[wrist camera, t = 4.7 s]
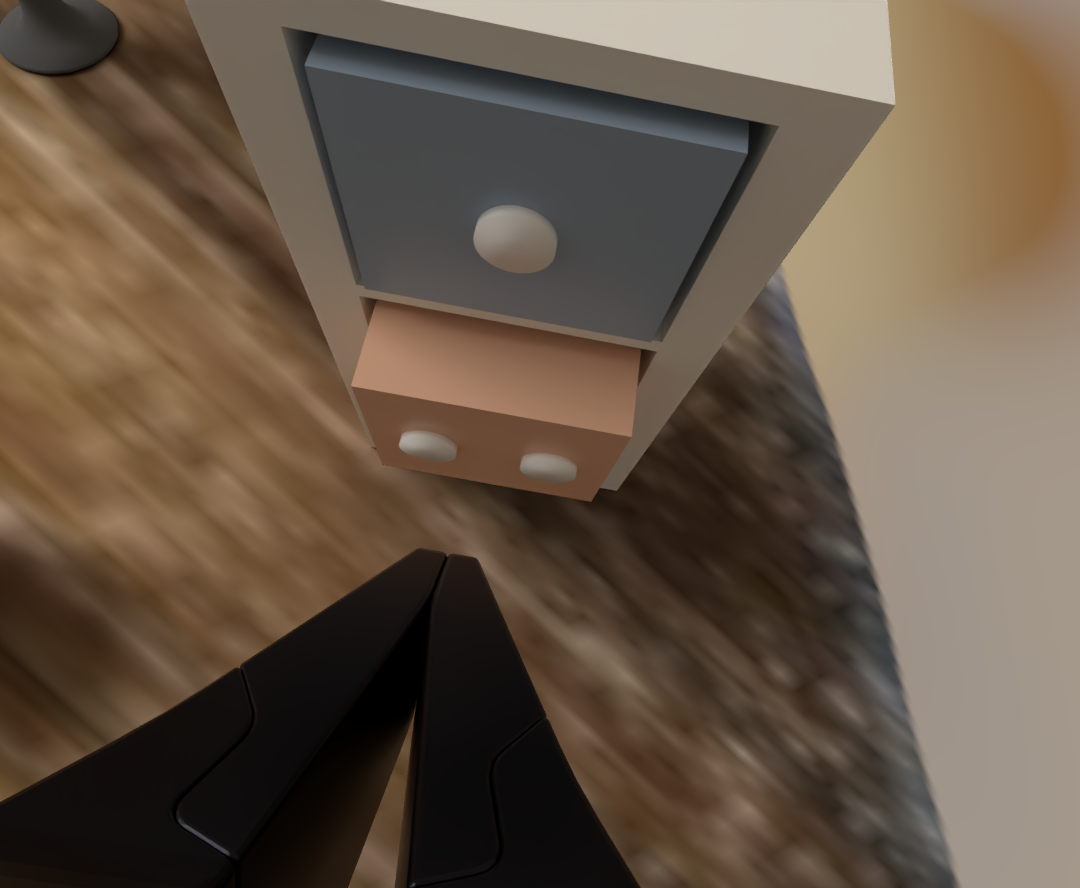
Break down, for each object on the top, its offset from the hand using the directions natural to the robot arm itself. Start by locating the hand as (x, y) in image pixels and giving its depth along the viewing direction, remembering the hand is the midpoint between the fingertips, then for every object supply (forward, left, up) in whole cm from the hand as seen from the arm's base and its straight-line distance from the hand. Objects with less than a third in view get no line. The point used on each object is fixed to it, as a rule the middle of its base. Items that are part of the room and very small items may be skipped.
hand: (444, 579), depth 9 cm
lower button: (+5, 0, -8) cm, 10 cm away
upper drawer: (+7, -1, -2) cm, 7 cm away
